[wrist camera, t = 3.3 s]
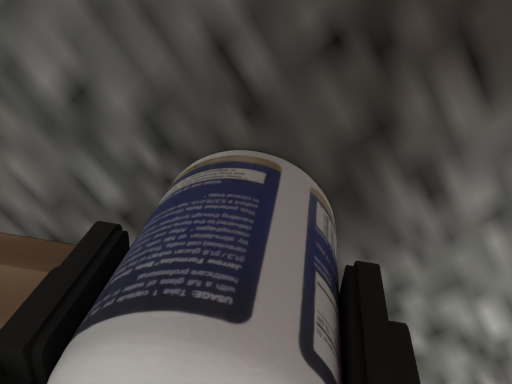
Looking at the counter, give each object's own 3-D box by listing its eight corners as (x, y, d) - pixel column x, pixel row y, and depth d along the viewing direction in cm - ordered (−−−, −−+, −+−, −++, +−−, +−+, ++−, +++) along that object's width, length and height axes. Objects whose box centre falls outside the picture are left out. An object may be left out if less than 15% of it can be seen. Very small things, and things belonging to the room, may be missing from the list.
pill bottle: (140, 237, 14) (-118, 640, 6) (214, 109, 12) (-64, 513, 3) (275, 312, 15) (212, 760, 7) (373, 208, 13) (462, 729, 4)
